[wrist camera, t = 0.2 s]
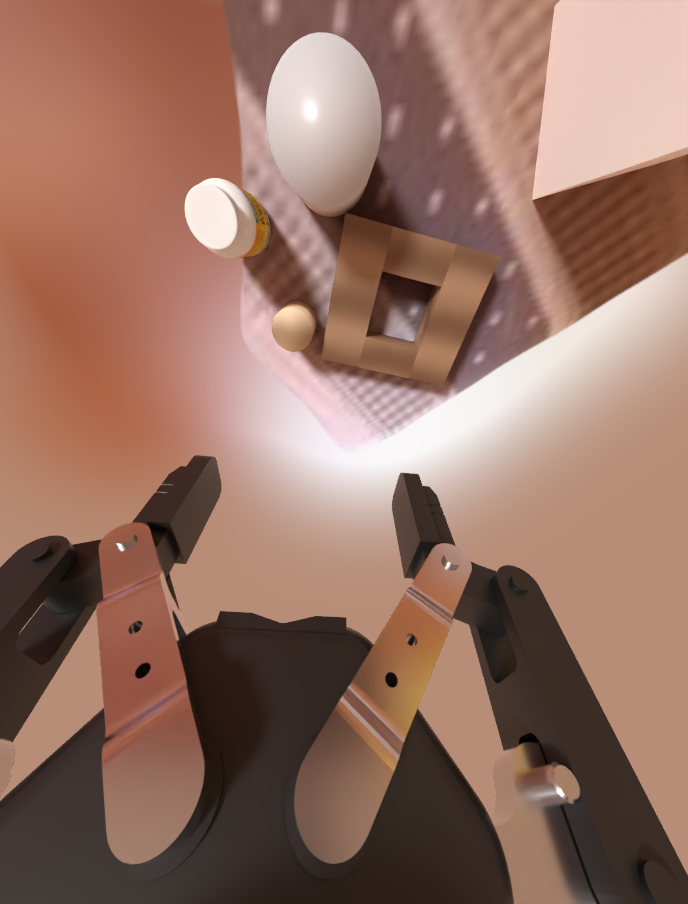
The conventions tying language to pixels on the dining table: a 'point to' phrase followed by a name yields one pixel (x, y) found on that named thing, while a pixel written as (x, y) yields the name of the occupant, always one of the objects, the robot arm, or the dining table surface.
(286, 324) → the short peg
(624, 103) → the milk
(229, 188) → the supplement bottle
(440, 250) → the board
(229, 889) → the robot arm
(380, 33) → the dining table surface
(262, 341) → the dining table surface
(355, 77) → the white rounded capsule
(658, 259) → the dining table surface
